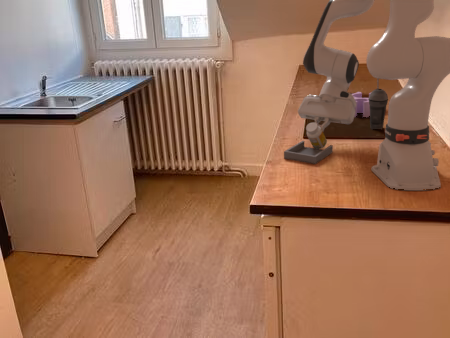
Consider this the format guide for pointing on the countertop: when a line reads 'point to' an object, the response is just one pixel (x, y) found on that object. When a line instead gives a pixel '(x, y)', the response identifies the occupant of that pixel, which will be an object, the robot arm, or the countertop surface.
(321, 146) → the supplement bottle
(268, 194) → the countertop surface
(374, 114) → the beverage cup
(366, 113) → the clip
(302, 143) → the tray
